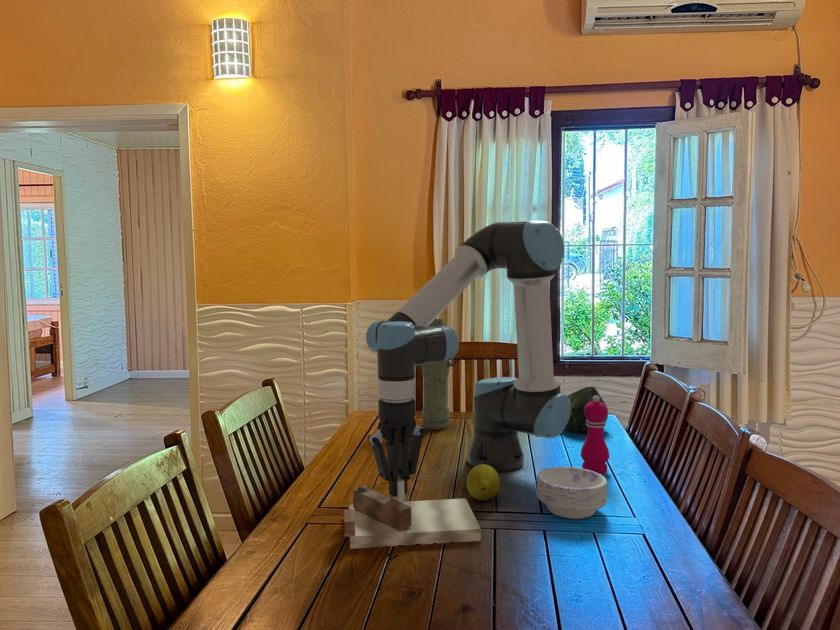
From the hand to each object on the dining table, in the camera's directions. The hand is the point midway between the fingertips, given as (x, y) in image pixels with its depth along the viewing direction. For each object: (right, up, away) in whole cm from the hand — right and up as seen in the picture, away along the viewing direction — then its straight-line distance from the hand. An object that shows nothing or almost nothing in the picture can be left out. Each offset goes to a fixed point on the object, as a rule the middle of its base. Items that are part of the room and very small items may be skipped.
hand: (398, 509), depth 136 cm
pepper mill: (+50, -1, +36) cm, 61 cm away
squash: (+57, +3, +73) cm, 93 cm away
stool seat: (+3, -4, +2) cm, 5 cm away
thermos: (+10, +4, +79) cm, 79 cm away
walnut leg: (-4, -2, +1) cm, 4 cm away
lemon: (+19, -3, +17) cm, 26 cm away
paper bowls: (+38, -3, +10) cm, 39 cm away
